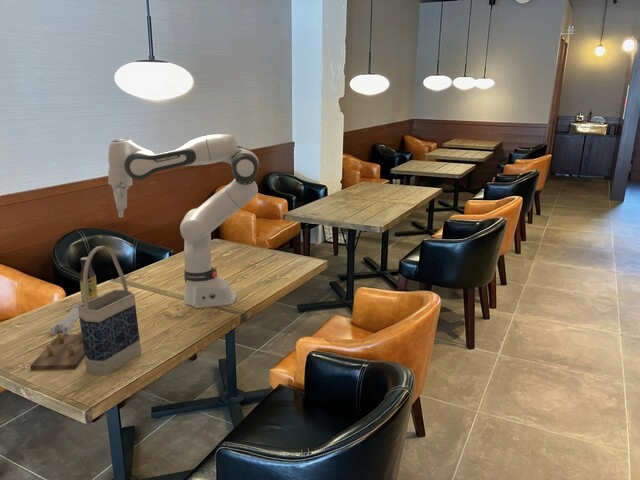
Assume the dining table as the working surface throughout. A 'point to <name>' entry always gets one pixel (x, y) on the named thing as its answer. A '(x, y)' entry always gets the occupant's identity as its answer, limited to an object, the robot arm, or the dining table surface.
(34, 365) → the peg rack
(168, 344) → the dining table surface
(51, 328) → the ball-tipped notched rod
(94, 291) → the sauce bottle
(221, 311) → the dining table surface
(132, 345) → the bag
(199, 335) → the dining table surface
